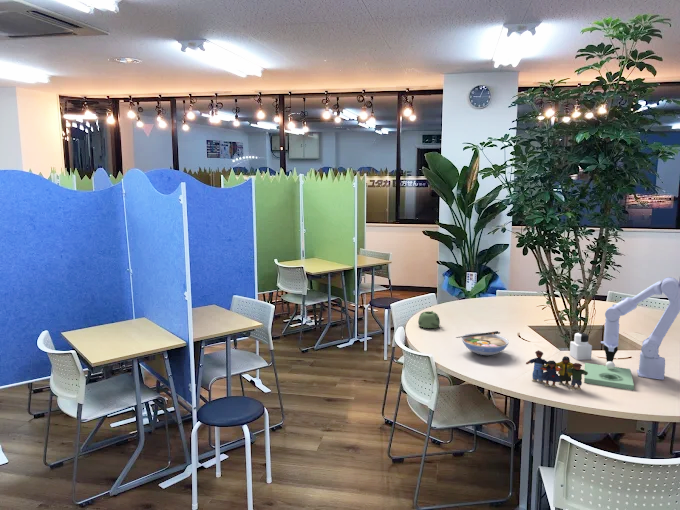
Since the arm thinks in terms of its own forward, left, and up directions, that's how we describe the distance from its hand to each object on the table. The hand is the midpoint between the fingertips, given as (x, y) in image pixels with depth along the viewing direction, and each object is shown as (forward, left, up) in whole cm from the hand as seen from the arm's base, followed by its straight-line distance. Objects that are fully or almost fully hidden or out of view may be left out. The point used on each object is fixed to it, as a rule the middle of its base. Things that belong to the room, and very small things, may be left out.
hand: (609, 362), depth 222 cm
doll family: (+21, +30, -3) cm, 37 cm away
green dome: (+94, -32, -3) cm, 99 cm away
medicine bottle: (+12, -10, -3) cm, 16 cm away
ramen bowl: (+55, +4, -3) cm, 55 cm away
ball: (0, +7, +1) cm, 7 cm away
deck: (+1, +13, -3) cm, 13 cm away
